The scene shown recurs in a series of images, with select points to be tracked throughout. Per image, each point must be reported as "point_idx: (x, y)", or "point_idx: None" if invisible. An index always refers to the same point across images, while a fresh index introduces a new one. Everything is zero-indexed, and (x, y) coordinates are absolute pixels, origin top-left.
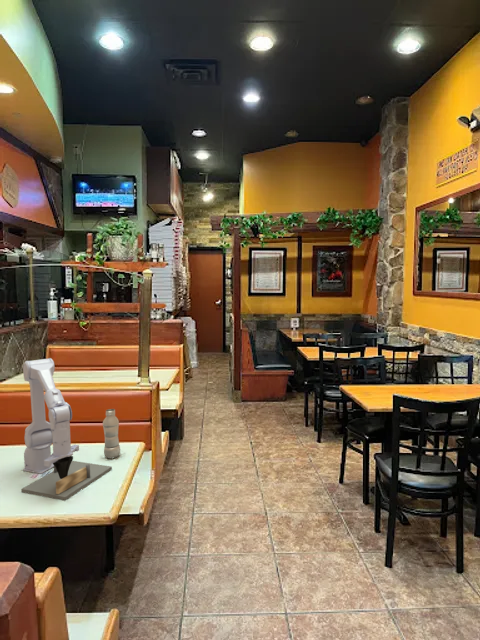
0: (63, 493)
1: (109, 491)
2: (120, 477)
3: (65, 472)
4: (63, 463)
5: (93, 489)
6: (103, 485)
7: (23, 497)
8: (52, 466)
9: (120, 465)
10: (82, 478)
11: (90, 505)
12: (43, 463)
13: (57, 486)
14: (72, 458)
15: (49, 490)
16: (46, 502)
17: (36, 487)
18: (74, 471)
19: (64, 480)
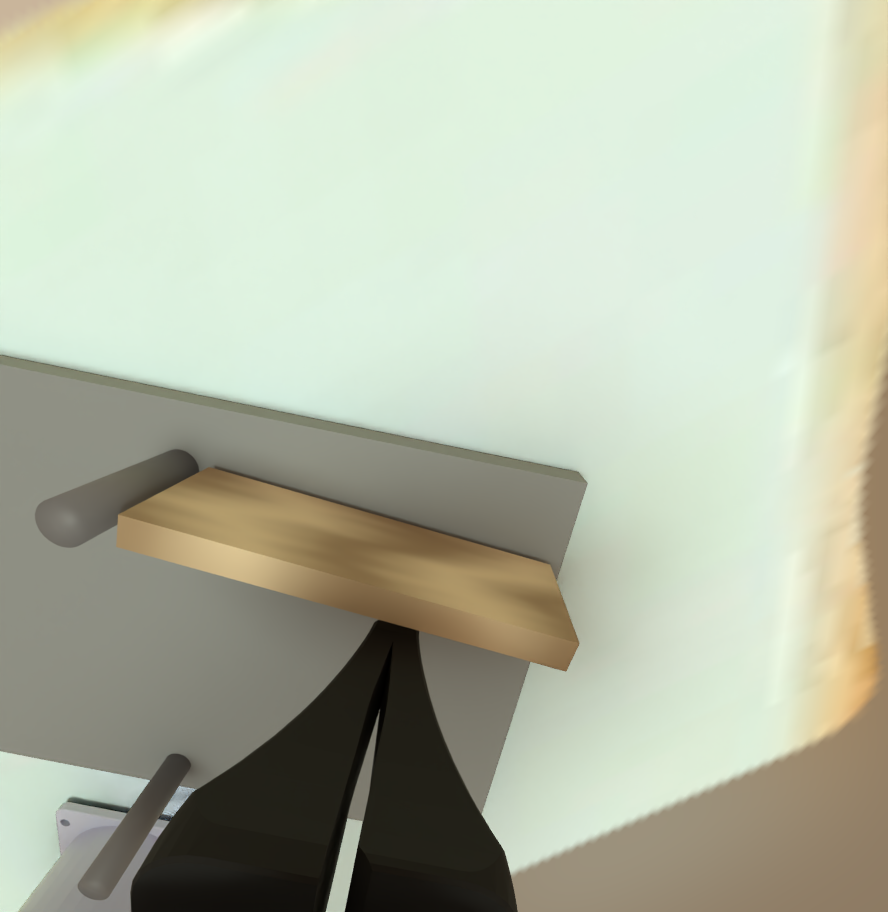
0: (519, 532)
1: (357, 100)
2: (31, 139)
3: (406, 676)
4: (506, 875)
5: (347, 318)
6: (249, 252)
7: (539, 772)
8: (96, 817)
9: None
10: (254, 491)
11: (670, 167)
12: (125, 905)
13: (565, 617)
14: (215, 822)
15: (476, 665)
16: (608, 600)
17: None
18: (120, 640)
19: (480, 605)
